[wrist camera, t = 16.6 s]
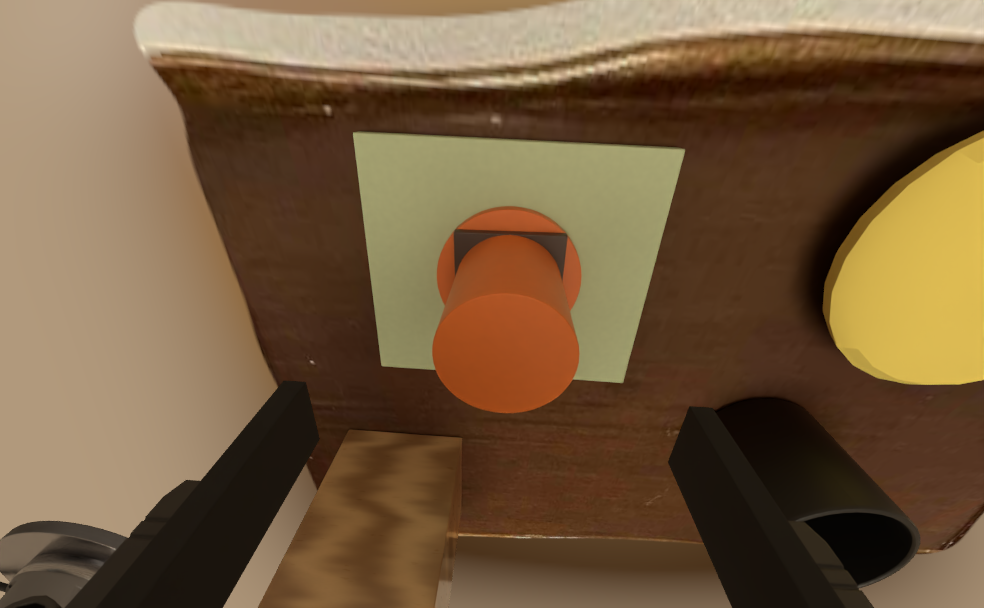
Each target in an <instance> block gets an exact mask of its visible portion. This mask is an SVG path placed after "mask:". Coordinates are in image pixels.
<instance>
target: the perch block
mask: <svg viewBox="0 0 984 608" xmlns="http://www.w3.org/2000/svg"><path fill="white" fill-rule="evenodd" d="M461 510H462V438H458V437H445V436H432V435H418V434H405V433H391V432H378V431H365V430H351V429H349V430H348V432H347V434H346V436H345V438H344V440H343V442H342V444H341V446H340V448H339V450H338V452H337V454H336V456H335V458H334V460H333V462H332V464H331V466H330V468H329V470H328V472H327V473H326V475H325V477H324V479H323V481H322V483H321V485H320V487H319V489H318V491H317V493H316V495H315V497H314V499H313V501H312V503H311V505H310V507H309V509H308V511H307V513H306V515H305V516H304V518H303V521H302V522H301V524H300V526H299V528H298V530H297V532H296V534H295V536H294V538H293V540H292V542H291V544H290V546H289V548H288V550H287V552H286V554H285V556H284V558H283V559H282V561H281V564H280V565H279V567H278V569H277V571H276V573H275V575H274V577H273V579H272V581H271V583H270V585H269V587H268V589H267V591H266V593H265V595H264V597H263V599H262V601H261V602H260V604H259V607H258V608H448V607H449V599H450V592H451V583H452V577H453V569H454V562H455V555H456V547H457V538H458V532H459V525H460V517H461Z"/></svg>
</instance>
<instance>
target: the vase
mask: <svg viewBox="0 0 984 608" xmlns="http://www.w3.org/2000/svg"><path fill="white" fill-rule="evenodd" d="M823 314H824V317H825V320H826V323H827V327H828V330H829V333H830V335H831V337H832V339H833V341H834V342H835V344H836V346H837V347H838V349H839V350H840V351H841V352H842V353H843V354H844V355H845V357H846V358H847V359H848V360H849V361H850V362H851V364H852V365H853V366H855V367H857V368H859V369H861V370H863V371H865V372H867V373H869V374H871V375H872V376H874V377H876V378H880V379H885V380H890V381H895V382H900V383H905V384H919V385H943V384H963V383H969V382H975V381H980V380H984V131H982V132H980V133H977V134H975V135H973V136H971V137H969V138H967V139H965V140H963V141H961V142H959V143H957V144H955V145H953V146H951V147H949V148H947V149H945V150H943V151H941V152H939V153H937V154H935V155H934V156H932V157H931V158H930V159H928V160H927V161H925V162H924V163H923V164H921V165H920V166H918V167H917V168H916V169H914V170H913V171H911V172H910V173H909V174H907V175H906V176H904V177H903V178H902V179H900V180H899V181H897V182H896V183H895V184H893V185H892V186H891V187H890V188H889V189H888V190H887V191H886V192H885V193H884V194H883V195H882V196H881V197H880V198H879V199H878V200H877V201H876V202H875V203H874V204H873V205H872V206H871V207H870V208H869V209H868V210H867V211H866V212H865V213H864V214H863V215H862V216H861V217H860V218H859V220H858V221H857V223H856V224H855V226H854V227H853V229H852V230H851V232H850V233H849V234H848V236H847V237H846V239H845V240H844V242H843V243H842V245H841V246H840V248H839V249H838V251H837V252H836V255H835V257H834V260H833V263H832V265H831V268H830V270H829V273H828V275H827V278H826V281H825V284H824V297H823Z"/></svg>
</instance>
